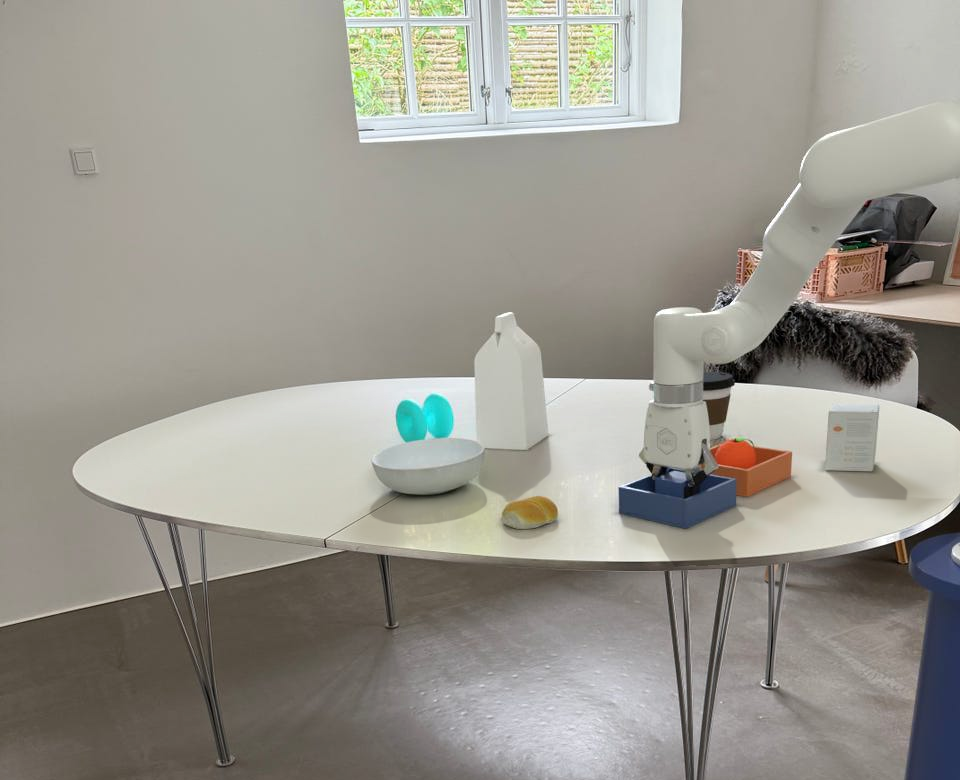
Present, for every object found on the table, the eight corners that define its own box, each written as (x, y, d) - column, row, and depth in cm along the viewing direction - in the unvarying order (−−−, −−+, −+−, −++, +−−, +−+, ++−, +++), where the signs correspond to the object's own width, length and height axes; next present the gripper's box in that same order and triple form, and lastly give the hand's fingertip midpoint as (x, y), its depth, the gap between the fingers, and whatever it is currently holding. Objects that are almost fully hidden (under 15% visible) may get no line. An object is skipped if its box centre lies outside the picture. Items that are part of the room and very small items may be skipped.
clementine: (738, 469, 170) (740, 429, 167) (768, 476, 165) (770, 436, 161) (705, 479, 166) (706, 439, 163) (734, 487, 161) (735, 446, 158)
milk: (500, 433, 210) (491, 310, 199) (548, 435, 206) (542, 309, 194) (476, 447, 201) (466, 319, 189) (526, 449, 196) (518, 318, 185)
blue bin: (736, 505, 154) (737, 478, 152) (685, 528, 146) (686, 500, 144) (669, 492, 163) (669, 466, 161) (618, 513, 156) (618, 486, 154)
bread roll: (567, 518, 155) (566, 495, 153) (527, 533, 150) (526, 509, 148) (532, 509, 161) (531, 486, 159) (493, 523, 156) (491, 500, 154)
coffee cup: (713, 427, 200) (715, 369, 195) (744, 437, 191) (746, 376, 185) (668, 435, 197) (668, 376, 192) (697, 446, 188) (698, 385, 182)
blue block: (698, 505, 154) (699, 475, 152) (680, 513, 151) (680, 483, 149) (674, 499, 158) (674, 470, 156) (655, 507, 155) (655, 478, 153)
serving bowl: (412, 469, 190) (408, 435, 187) (506, 475, 180) (503, 439, 177) (354, 501, 174) (348, 464, 171) (453, 510, 164) (449, 471, 161)
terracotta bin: (790, 476, 165) (792, 451, 163) (746, 497, 157) (748, 470, 155) (725, 465, 174) (726, 441, 172) (681, 484, 167) (681, 459, 165)
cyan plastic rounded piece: (458, 440, 208) (454, 394, 203) (419, 450, 203) (414, 403, 198) (434, 433, 215) (429, 389, 211) (396, 443, 210) (390, 397, 206)
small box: (875, 463, 168) (881, 403, 164) (872, 472, 164) (878, 411, 159) (827, 461, 171) (831, 403, 167) (823, 470, 167) (828, 410, 162)
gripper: (619, 392, 150) (621, 502, 158) (709, 403, 138) (706, 521, 146) (649, 383, 155) (649, 490, 163) (739, 393, 143) (735, 508, 151)
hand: (676, 504), depth 154 cm, fingers closed on blue block, 5 cm apart
